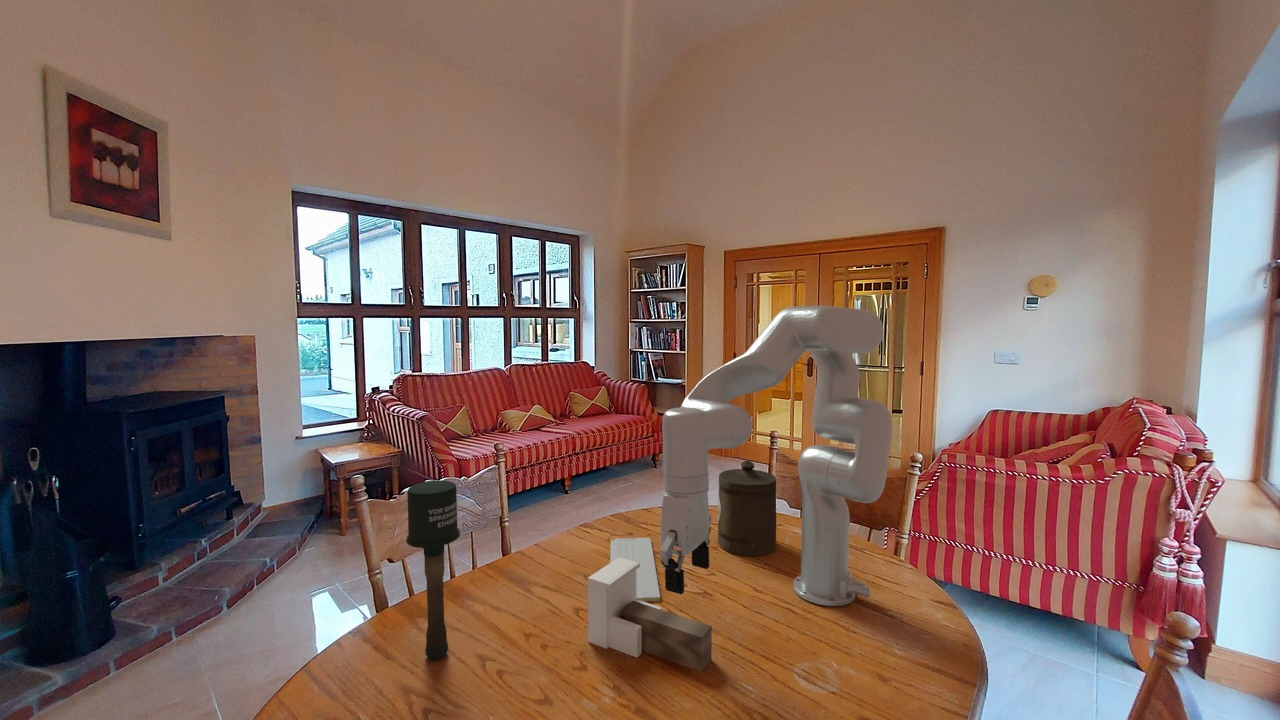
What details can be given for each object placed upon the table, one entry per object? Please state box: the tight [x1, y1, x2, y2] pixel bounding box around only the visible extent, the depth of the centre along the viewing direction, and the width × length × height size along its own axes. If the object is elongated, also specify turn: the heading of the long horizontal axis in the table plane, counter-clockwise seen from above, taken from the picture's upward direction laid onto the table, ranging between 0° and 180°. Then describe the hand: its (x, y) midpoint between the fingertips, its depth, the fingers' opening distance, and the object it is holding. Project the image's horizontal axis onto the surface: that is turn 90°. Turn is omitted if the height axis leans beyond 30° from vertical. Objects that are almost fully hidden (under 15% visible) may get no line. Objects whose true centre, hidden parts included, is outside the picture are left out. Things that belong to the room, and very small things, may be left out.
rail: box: [621, 601, 713, 673], centre depth 95 cm, size 16×4×6 cm, turn 58°
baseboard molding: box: [607, 532, 661, 603], centre depth 127 cm, size 31×3×12 cm
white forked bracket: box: [587, 557, 663, 658], centre depth 99 cm, size 10×10×12 cm
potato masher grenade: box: [405, 480, 461, 661], centre depth 93 cm, size 8×9×30 cm
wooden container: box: [717, 460, 777, 557], centre depth 140 cm, size 15×15×22 cm
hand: (688, 578), depth 93 cm, fingers open, 9 cm apart
